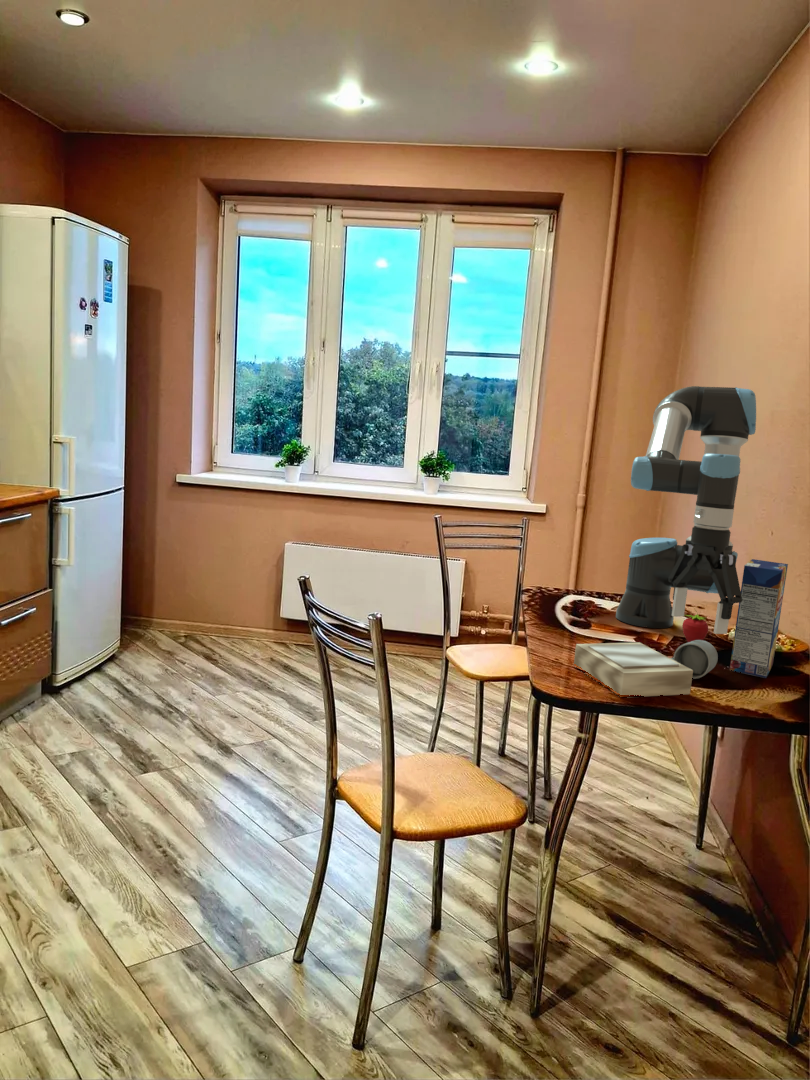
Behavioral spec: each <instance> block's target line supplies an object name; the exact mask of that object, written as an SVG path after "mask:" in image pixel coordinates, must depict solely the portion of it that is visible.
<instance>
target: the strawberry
mask: <svg viewBox="0 0 810 1080" xmlns="http://www.w3.org/2000/svg"><path fill="white" fill-rule="evenodd" d="M694 611H695V613H696V614H694V615H691V614H684V617H687V618H685V620H683V623H682V625H681V627H682V634H683V635H684V637H685V640H686V643H689V642H691V641H694V640H703V641H705V640H704V639H706V637H707V634H708V632H709V624H708V623H707V621H706V619H707V617H706V616H699V614H698V612H697V610H696V609H694Z"/></svg>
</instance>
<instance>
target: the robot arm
mask: <svg viewBox="0 0 810 1080" xmlns="http://www.w3.org/2000/svg"><path fill="white" fill-rule="evenodd" d="M756 422H757V397H756V393H755V392H754V391H753V389H749V388H741V387H739V388H738V387H725V386H719V387H718V386H698V385H696V386H694V385H693V386H686V387H683V388H679V389H677V390H675V391H673V392H671V393H669V394H668V395H666V396H665V397H664V398H663V399H662V400H661V401H660V402H659V403H658V404H657V406H656V407H655V410H654V411H653V416H652V424H653V430H652V432H651V437H650V439H649V443H648V445H647V449H646V450H647V451H646V453H645V455H644V456H636V457H634V460H633V461H632V466H631V473H630V474H631V476H630V484H631V487H632V488H634V489H637V490H643V491H646V492H651V491H652V492H664V493H673V494H674V493H675V494H682V495H683V494H686V495H694V496H696V500H695V501H696V502H695V508H694V515H693V522H692V523H693V527H692V529H691V535H689V536H688V537H687V538H686V539H685V544H682V545H679V544H678V540H677V539H676V538H672V537H671V538H669V537H645V538H639V539H636V540H634V541H633V542H632V543H631V547H630V552H629V555H628V558H629V559H628V560H629V562H628V570H627V577H626V582H625V591H624V594H623V595H622V598H621V600H620V602H619V605H618V606H617V608H616V613H615V618H616V619H617V620H619V621H621V622H623V623H625V624H629V625H631V626H637V627H643V628H650V629H665V628H671V627H673V626H674V617H681V618H682V617H685V616H684V615H685V611H686V604H687V595H688V591H694V592H701V593H705V594H718V597H719V598H720V600H719V601H717V606H716V611H715V612H716V614H715V620H714V626H713V634H715V635H727V634H728V628H729V622H730V620H731V618H732V612H733V607H734V605H735V604H739V603H741V602H742V596H741V586H740V581H739V577H738V576H739V575H738V572H737V566H736V565H737V564H736V563H737V561H738V560H737V559H738V555H739V554H738V552H736V551H735V550H733V547H734V544H733V543H732V542H731V540H730V539H731V531H730V528H732V526H733V519H734V512H735V511H734V510H735V503H736V495H737V490H738V484H739V477H740V473H741V457H740V453H741V448H742V447H743V446H744V445H745V444H746V443H748V441H749V436H752V435H754V434H756V428H757V427H756V426H757V423H756ZM686 431H695V432H700V435H699V438H700V440H701V441H702V442H703V444H704V451H703V452H704V453H703V455H702V458H701V461H699V460H698V461H696V460H687V459H686V460H685V459H680V456H681V451H682V447H683V442H684V438H685V433H686ZM671 588H673V593H672V601H671ZM671 602H672V603H671Z"/></svg>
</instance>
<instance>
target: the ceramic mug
mask: <svg viewBox="0 0 810 1080" xmlns="http://www.w3.org/2000/svg"><path fill="white" fill-rule="evenodd" d="M718 657H719V655H718V652H717V649H716V647H714V645H712V643H710V642H708V641H706V640H694V641H691V642H689V643H688V642H686V643H683V644H681V645H679V646H678V647H677V648H676V649H675V651H674V653H673V657H669V658H670V659H672V660H674V661H676V662H678V663H680V664H682V665H684V666H686V667H688V668H690V669H692V670H693V675H692V678H693V679H692V680H697V679H700V678H701V679H702V677H704V676H706V675H707V674H708V673H709V672H711V671H712V670H713V669H715V667H716V665H717V663H718V659H719V658H718Z"/></svg>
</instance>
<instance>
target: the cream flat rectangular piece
mask: <svg viewBox="0 0 810 1080" xmlns="http://www.w3.org/2000/svg"><path fill="white" fill-rule="evenodd" d="M573 658H574V659H573V665H574V664H576V665H577V666H579V667H581V668H582V669H583V670H585V671H586V672H588V673H589V674H591V675H592V676H594V677H595V678H597V679H598V680H600V681H601V682H603V683H604V684H605V685H607V686H609V687H610V688H612V689H613V690H614V691H616V692H617V693H619V694H620V695H629V696H630V695H634V696H635V695H636V696H637V695H639V696H640V695H641V696H644V697H658V696H659V697H661V696H660V695H663V696H679V695H680V694H683V695H690V694H691V688H692V681H693V679H692V675H693V670H692V669H690V668H688V667H686V666H684V665H682V664H680V663H678V662H676V661H674V660H672V659H670V658H671V657H668V656H667V655H664V654H662V653H661V652H659V651H656V650H655V649H653V648H651V647H649V646H648V645H646V644H643V643H642V642H640V641H639V642H605V643H576V644H575V650H574V657H573Z"/></svg>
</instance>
